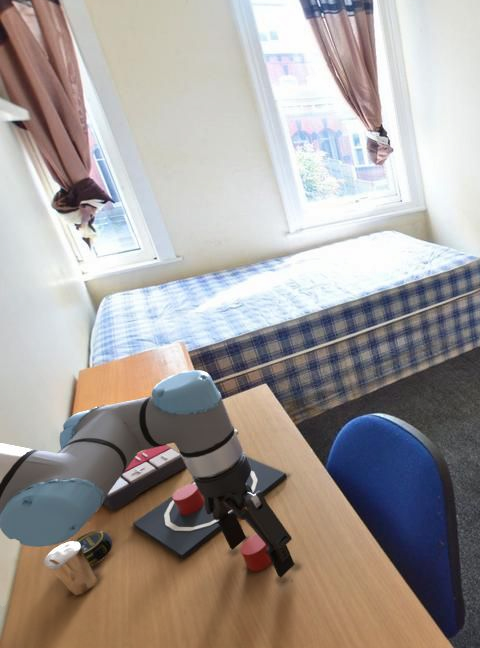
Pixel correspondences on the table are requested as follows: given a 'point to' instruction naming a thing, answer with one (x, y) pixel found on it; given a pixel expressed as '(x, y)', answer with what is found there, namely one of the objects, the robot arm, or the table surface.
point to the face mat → (198, 516)
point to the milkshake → (71, 567)
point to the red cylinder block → (188, 499)
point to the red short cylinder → (255, 553)
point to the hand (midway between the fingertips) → (261, 556)
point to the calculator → (144, 474)
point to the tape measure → (95, 545)
